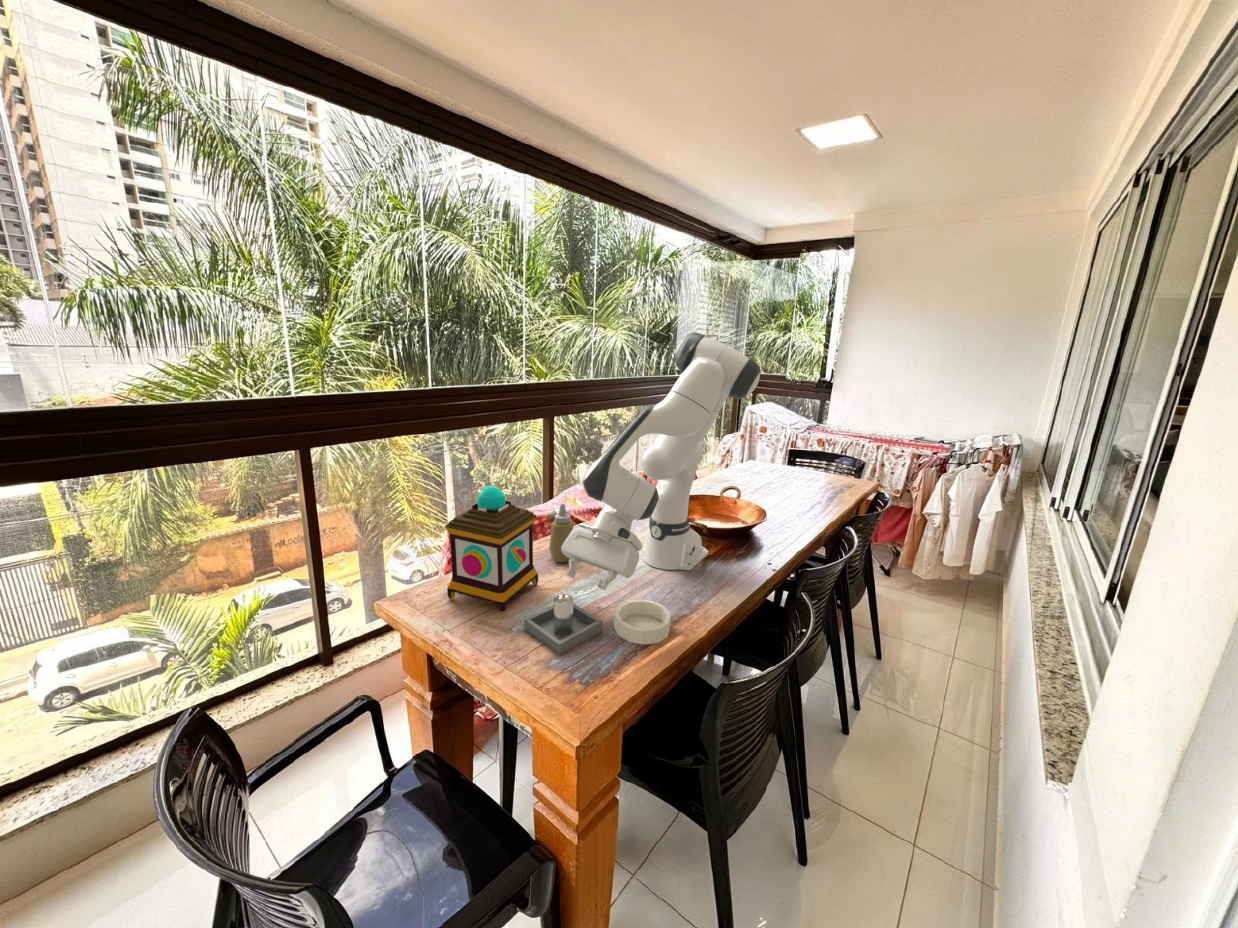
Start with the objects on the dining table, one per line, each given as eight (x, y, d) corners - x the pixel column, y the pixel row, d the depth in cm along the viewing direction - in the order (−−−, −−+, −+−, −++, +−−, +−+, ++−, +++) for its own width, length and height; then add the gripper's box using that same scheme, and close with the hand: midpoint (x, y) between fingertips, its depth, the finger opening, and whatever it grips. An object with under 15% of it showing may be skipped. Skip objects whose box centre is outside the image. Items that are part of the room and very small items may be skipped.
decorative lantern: (486, 568, 147) (482, 470, 139) (545, 582, 140) (545, 481, 132) (439, 601, 129) (432, 491, 121) (504, 619, 122) (501, 504, 114)
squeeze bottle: (557, 567, 149) (557, 510, 144) (544, 556, 156) (544, 502, 151) (580, 560, 154) (581, 506, 149) (566, 550, 160) (567, 498, 155)
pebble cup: (564, 621, 120) (564, 588, 118) (576, 629, 118) (577, 596, 115) (549, 629, 117) (549, 595, 115) (561, 637, 114) (562, 603, 112)
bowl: (639, 609, 129) (640, 594, 127) (679, 631, 120) (681, 615, 119) (603, 629, 120) (604, 613, 118) (644, 655, 111) (645, 637, 110)
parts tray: (566, 611, 127) (566, 599, 126) (602, 634, 118) (602, 621, 117) (524, 632, 117) (523, 619, 117) (559, 658, 109) (559, 644, 108)
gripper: (571, 516, 128) (546, 564, 122) (639, 536, 117) (614, 590, 112) (582, 527, 132) (558, 574, 127) (648, 547, 122) (625, 600, 116)
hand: (585, 582), depth 119 cm, fingers open, 8 cm apart
